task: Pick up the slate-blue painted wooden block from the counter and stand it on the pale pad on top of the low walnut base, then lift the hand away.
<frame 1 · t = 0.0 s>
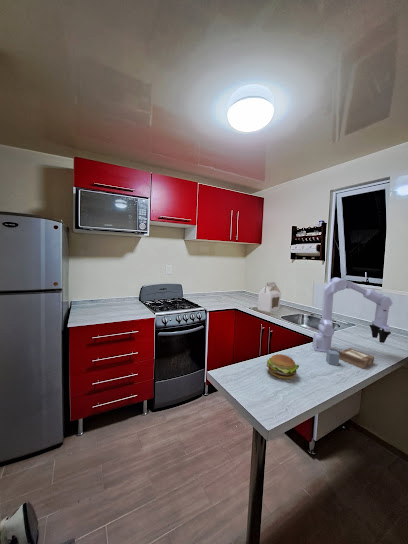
hand: (378, 339, 130), 10 cm above the table, tool pointing down, fingers open, 7 cm apart
food: (281, 373, 105), on the table
walnut base: (355, 361, 123), on the table
gable box: (268, 309, 233), on the table
block: (331, 363, 119), on the table
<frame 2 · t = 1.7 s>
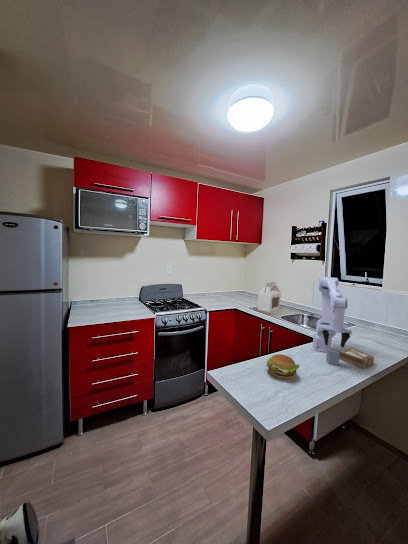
hand: (334, 345, 118), 9 cm above the table, tool pointing down, fingers open, 7 cm apart
nothing on the table moved.
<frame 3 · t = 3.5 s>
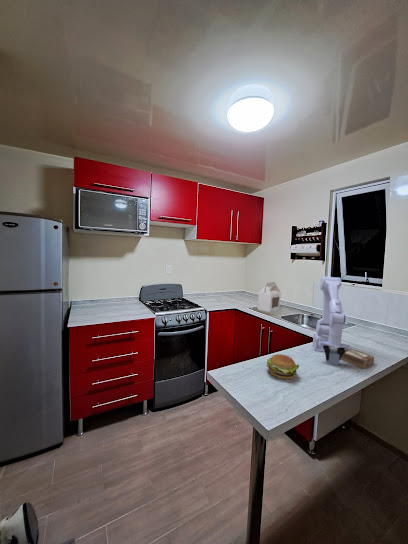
hand: (332, 360, 119), 1 cm above the table, tool pointing down, fingers closed on block, 4 cm apart
block: (331, 363, 119), on the table, touching gripper
everything else where it was.
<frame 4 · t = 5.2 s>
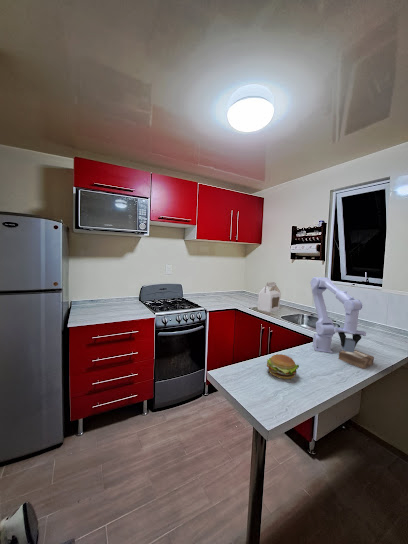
hand: (347, 346, 121), 8 cm above the table, tool pointing down, fingers closed on block, 4 cm apart
block: (347, 350, 121), point 7 cm above the table, touching gripper
everything else where it was.
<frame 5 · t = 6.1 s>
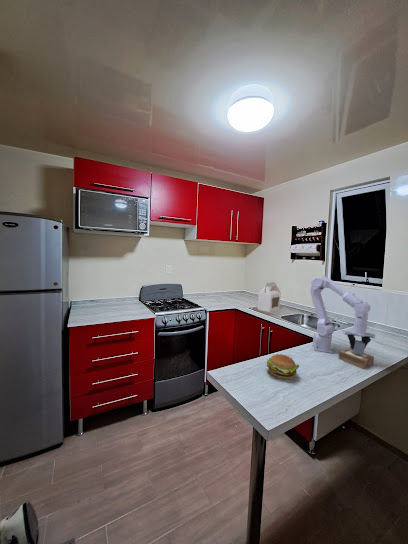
hand: (357, 349, 123), 7 cm above the table, tool pointing down, fingers closed on block, 4 cm apart
block: (356, 352, 122), point 5 cm above the table, touching gripper
everything else where it was.
when the fingers open (7 cm above the table, at t = 6.8 s): block drops 1 cm, resting on walnut base.
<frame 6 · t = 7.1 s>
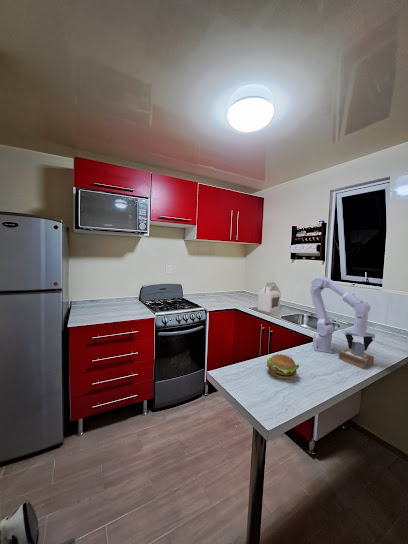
hand: (357, 349, 123), 7 cm above the table, tool pointing down, fingers open, 7 cm apart
block: (356, 354, 122), point 4 cm above the table, touching walnut base
everything else where it was.
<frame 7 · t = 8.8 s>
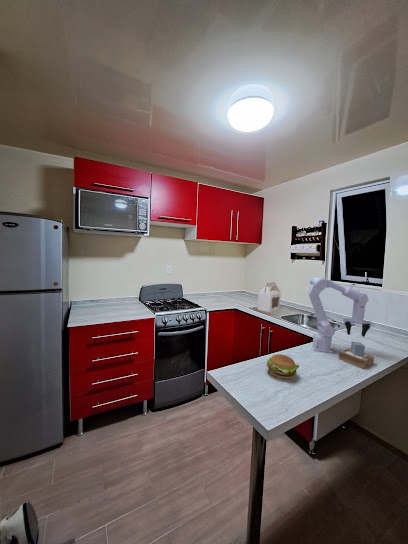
hand: (355, 335, 134), 10 cm above the table, tool pointing down, fingers open, 7 cm apart
nothing on the table moved.
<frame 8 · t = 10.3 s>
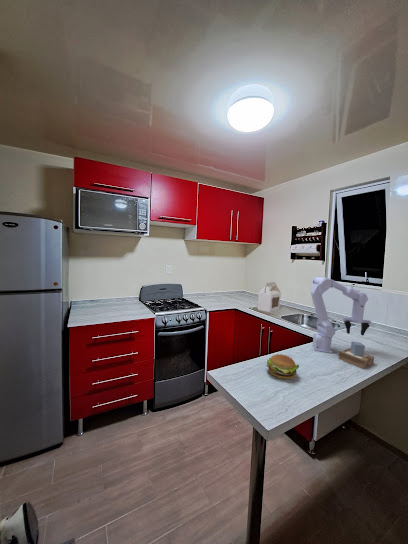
hand: (355, 334, 137), 10 cm above the table, tool pointing down, fingers open, 7 cm apart
nothing on the table moved.
at the end: block 0.3 cm off-centre on the walnut base, point 4.1 cm above the walnut base's base; block tilted 0°; block touching walnut base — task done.
